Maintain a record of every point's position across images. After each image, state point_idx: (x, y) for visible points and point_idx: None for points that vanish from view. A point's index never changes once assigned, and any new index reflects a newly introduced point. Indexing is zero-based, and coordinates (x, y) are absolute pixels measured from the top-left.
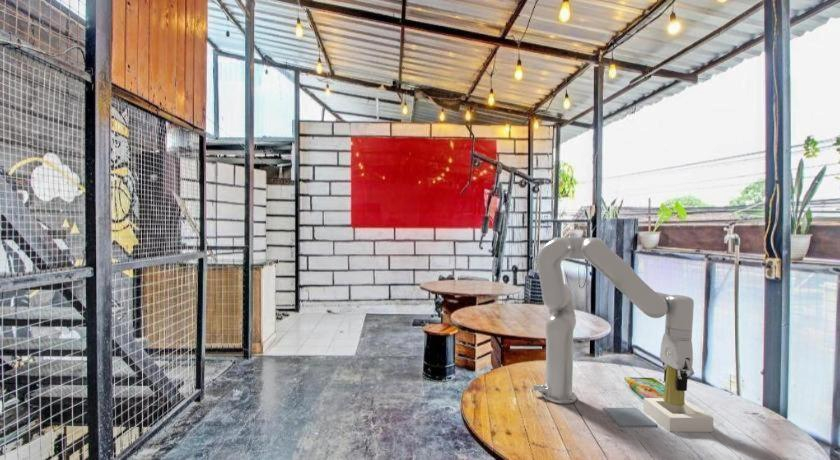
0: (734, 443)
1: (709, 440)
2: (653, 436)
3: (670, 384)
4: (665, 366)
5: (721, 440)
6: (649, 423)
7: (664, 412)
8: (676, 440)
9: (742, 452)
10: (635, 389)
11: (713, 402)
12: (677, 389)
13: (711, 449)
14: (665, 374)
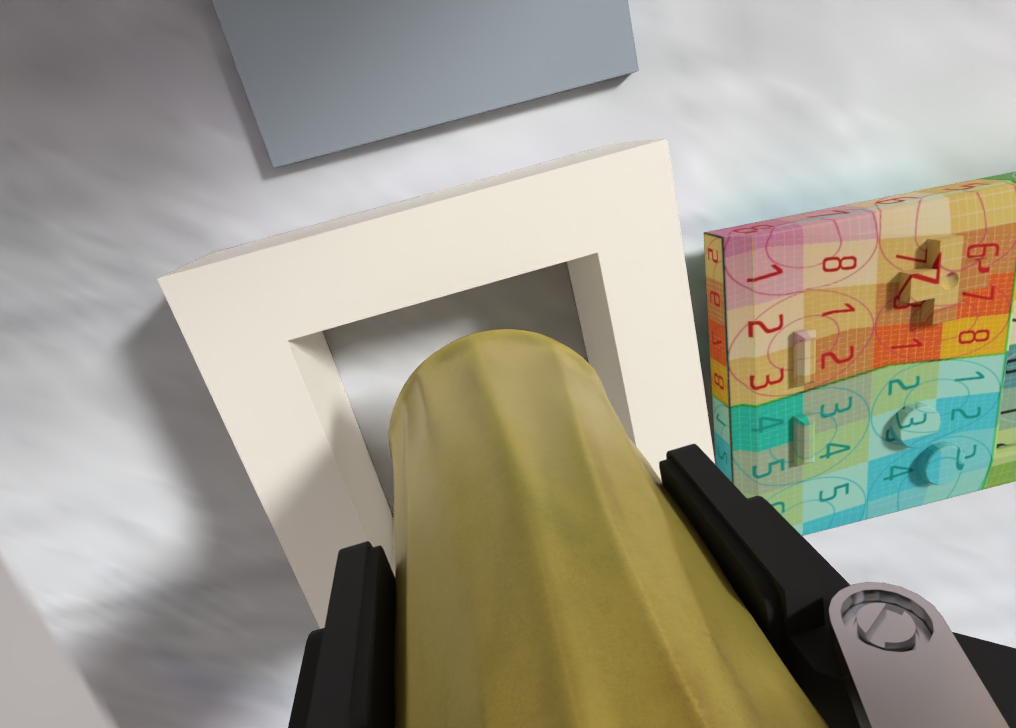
0: (207, 661)
1: (180, 521)
2: (19, 44)
3: (447, 503)
4: (906, 688)
5: (220, 598)
6: (277, 88)
7: (291, 259)
8: (42, 257)
9: (76, 668)
10: (996, 176)
11: None
12: (342, 558)
13: (9, 490)
14: (739, 540)
